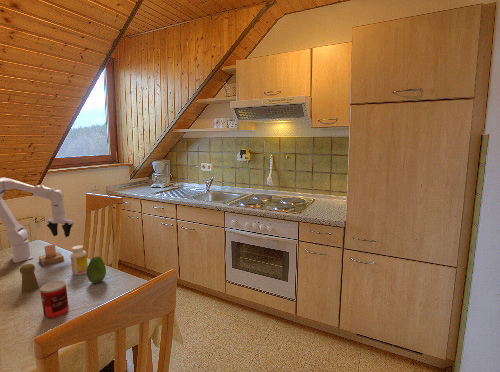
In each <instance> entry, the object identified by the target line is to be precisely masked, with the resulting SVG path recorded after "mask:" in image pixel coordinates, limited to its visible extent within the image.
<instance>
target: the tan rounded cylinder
mask: <svg viewBox="0 0 500 372" xmlns="http://www.w3.org/2000/svg"><path fill="white" fill-rule="evenodd" d="M43 248H44V255H46V258H52V257H55V256H56V252H57V250H56V249H57V248H56V244H48V245H46V246H44V247H43Z"/></svg>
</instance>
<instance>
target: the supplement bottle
mask: <svg viewBox="0 0 500 372" xmlns="http://www.w3.org/2000/svg"><path fill="white" fill-rule="evenodd" d="M70 263H71V271H72V275H75V276H80V275H84V274H87V273H86V271H87V267H88V265H89V262H88V256H87V251H86V250H84V245H81V244H80V245H75V246H73V247H71V253H70Z"/></svg>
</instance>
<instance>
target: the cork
mask: <svg viewBox="0 0 500 372" xmlns="http://www.w3.org/2000/svg"><path fill="white" fill-rule="evenodd" d="M35 270H36V266H35V264H33V263H27V264H23V265H21V266H20V267H19V273H20V274H21V293H24V294H29V293H33V292H35V291H36V290H38V289H40V286H39V283H38V280H37V276H36V273H35Z"/></svg>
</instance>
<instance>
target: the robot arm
mask: <svg viewBox="0 0 500 372" xmlns="http://www.w3.org/2000/svg"><path fill="white" fill-rule="evenodd" d="M12 189H16V190H20V191H24V192H28V193H32V194H33V195H34V196H35V197H38V198H42V199H47V200H49V201H50V209H51V214H52V218H48V219H46V223H47V224H46V227H47V228H48V229H49V230H50V232H51V234H52V235H53V237H57V236H58V233H59V231H58V230H59V229H58V226H59V224H60V225H61V224H63V225H61V228H62V230H63V232H64V233H63V234H64V237H65V238H68V237H70V234H71V229H72V227H73V225H74V223H73V220H72V219H67V218H66V212H65V204H64V196H65V194H64V192H63V190H61V189H60V188H53V187H51V188H50V187H47V186H45V184H44V185H43V184H37V185H36V186H34V185H31V184H28V183H25V182H21V181H19V180H15V179H13V178H7V177H5V176H4V177H3V176H2V177H0V221H1V222H2V224H3V225H4V227H5V229H6V236H7V241H8V243H9V244H11V249H12V250H11V251H12V256H11V257H10V258H11V260H12V262H13V263H15V264H17V263H20V262H23V261H28V260H31V259H34V256H33V255H32V254H31V250H30V248H31V247H30V243H29V239H28V238H29V236H30V232H29V229H26V228H25V227H24V226H23V224H20V223H19V222H18V221H17V219H16V218H15V216H14V215H13V213H12V211H11V210H10V209H9V208H10V207H8V205H7V203H6V202H5V200H4V199H3V196H4V194H5V192H6V191H7V190H12Z"/></svg>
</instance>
